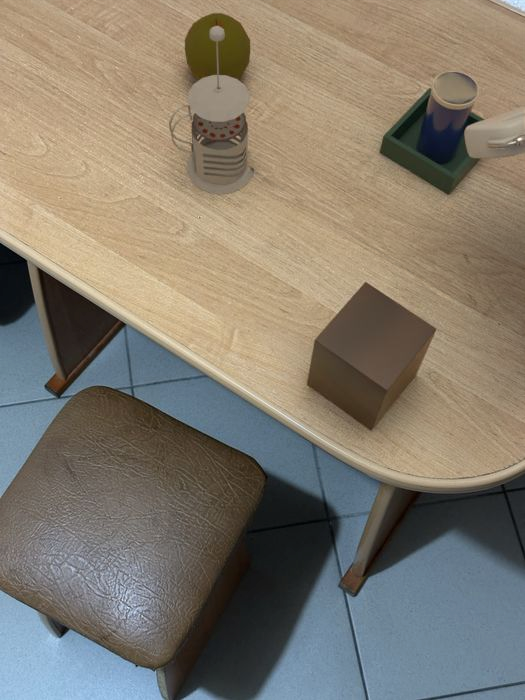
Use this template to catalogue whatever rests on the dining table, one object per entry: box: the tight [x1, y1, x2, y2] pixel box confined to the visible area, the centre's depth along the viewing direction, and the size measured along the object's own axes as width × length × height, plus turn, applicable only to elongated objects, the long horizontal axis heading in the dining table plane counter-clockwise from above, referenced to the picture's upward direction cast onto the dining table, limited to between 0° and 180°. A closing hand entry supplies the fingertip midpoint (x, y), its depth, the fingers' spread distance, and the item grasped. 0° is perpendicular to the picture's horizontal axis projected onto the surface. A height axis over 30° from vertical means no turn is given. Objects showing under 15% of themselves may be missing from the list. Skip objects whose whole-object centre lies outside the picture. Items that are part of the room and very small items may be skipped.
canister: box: [416, 70, 480, 164], centre depth 117 cm, size 6×6×12 cm
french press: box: [168, 26, 255, 195], centre depth 109 cm, size 10×12×25 cm
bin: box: [379, 87, 485, 196], centre depth 121 cm, size 12×12×4 cm
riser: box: [306, 281, 438, 432], centre depth 100 cm, size 10×10×12 cm
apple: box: [184, 12, 251, 81], centre depth 124 cm, size 10×10×11 cm
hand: (512, 116), depth 102 cm, fingers open, 8 cm apart
